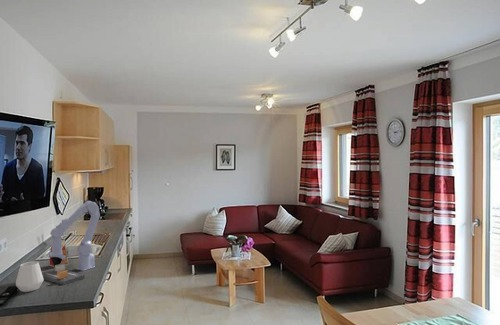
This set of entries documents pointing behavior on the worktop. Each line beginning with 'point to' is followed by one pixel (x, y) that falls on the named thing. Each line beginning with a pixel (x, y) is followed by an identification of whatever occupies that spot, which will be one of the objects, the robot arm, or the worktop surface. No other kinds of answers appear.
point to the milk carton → (62, 253)
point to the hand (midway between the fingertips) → (57, 268)
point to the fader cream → (60, 267)
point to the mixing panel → (71, 278)
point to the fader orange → (62, 274)
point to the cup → (29, 277)
